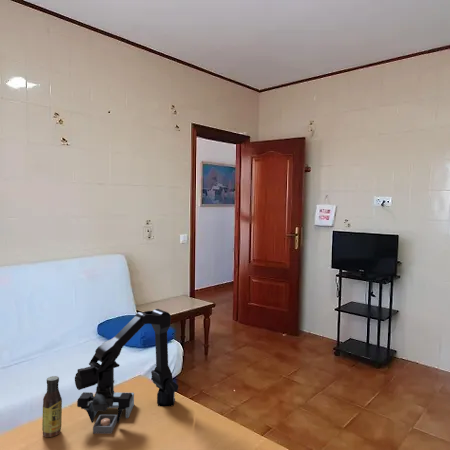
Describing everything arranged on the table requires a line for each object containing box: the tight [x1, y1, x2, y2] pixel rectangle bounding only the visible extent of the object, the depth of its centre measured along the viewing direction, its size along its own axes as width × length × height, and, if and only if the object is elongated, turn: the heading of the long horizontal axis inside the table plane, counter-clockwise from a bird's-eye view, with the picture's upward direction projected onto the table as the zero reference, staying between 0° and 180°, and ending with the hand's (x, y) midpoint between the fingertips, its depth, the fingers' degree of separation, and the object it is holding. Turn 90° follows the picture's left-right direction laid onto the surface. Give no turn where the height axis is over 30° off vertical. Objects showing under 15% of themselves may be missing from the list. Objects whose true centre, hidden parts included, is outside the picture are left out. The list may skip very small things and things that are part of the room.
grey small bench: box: [94, 391, 135, 419], centre depth 152 cm, size 14×10×6 cm
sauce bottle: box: [41, 375, 63, 438], centre depth 137 cm, size 7×6×20 cm
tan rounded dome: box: [101, 418, 110, 426], centre depth 141 cm, size 3×3×2 cm
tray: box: [92, 414, 118, 435], centre depth 141 cm, size 6×8×3 cm
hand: (105, 422), depth 141 cm, fingers open, 9 cm apart
